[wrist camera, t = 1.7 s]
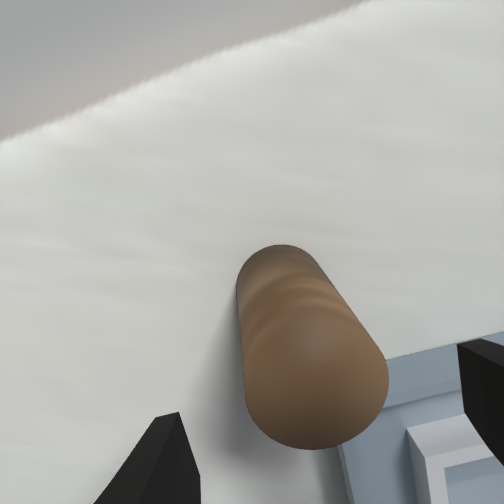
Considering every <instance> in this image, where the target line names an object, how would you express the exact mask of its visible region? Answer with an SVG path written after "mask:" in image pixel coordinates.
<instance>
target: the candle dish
mask: <svg viewBox="0 0 504 504" xmlns="http://www.w3.org/2000/svg"><path fill="white" fill-rule="evenodd" d="M480 338H481V339H485V340H488V341H491V342H494V343H497V344H500V345H503V346H504V332H500V333H496V334H492V335H488V336H484V337H480ZM476 339H479V338H476ZM471 340H475V339H471ZM471 340H467V341H471ZM467 341H463V342H467ZM459 343H462V342H459ZM457 344H458V343H455V344H451V345H447V346H443V347H439V348H434V349H430V350H426V351H422V352H418V353H414V354H410V355H406V356H401V357H397V358H393V359H389V360H386V363H387V367H388V371H389V389H388V394H387V398H386V401H385V403H384V406H383V408H382V409H381V411H380V413H379V414H378V416H377V417H376V419H375V420H374V421H373V422H372V423H371V425H370V426H369V427H367V428H366V429H365V430H364V431H363V432H362V433H360V434H359V435H357V436H356V437H354V438H353V439H351V440H349V441H347V442H345V443H342V444H340V445H337V450H338V454H339V459H340V464H341V468H342V473H343V478H344V483H345V487H346V492H347V497H348V501H349V504H504V466H503V465H502V464H501V463H500V462H499V460H498V459H497V458H496V457H495V456H494V454H493V453H492V452H491V451H490V450H489V448H488V447H487V446H486V444H485V443H484V441H483V440H482V438H481V437H480V436H479V434H478V433H477V431H476V430H475V428H474V427H473V425H472V424H471V422H470V420H469V419H468V417H467V416H466V414H465V413H464V408H463V399H462V390H461V381H460V372H459V362H458V353H457Z"/></svg>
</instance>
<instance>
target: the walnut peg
mask: <svg viewBox="0 0 504 504" xmlns="http://www.w3.org/2000/svg"><path fill="white" fill-rule="evenodd" d="M236 289H237V303H238V315H239V327H240V339H241V352H242V364H243V376H244V388H245V399H246V404H247V408H248V410H249V413H250V415H251V417H252V419H253V421H254V422H255V423H256V425H257V426H258V427H259V428H260V429H261V430H262V431H263V432H264V433H265V434H266V435H267V436H269V437H270V438H271V439H273V440H275V441H277V442H278V443H281V444H283V445H286V446H289V447H293V448H298V449H306V450H316V449H325V448H330V447H334V446H337V445H340V444H342V443H345V442H347V441H349V440H351V439H353V438H354V437H356V436H357V435H359V434H360V433H362V432H363V431H364V430H365V429H366V428H367V427H369V426H370V425H371V423H372V422H373V421H374V420H375V419H376V417H377V416H378V414H379V413H380V411H381V409H382V408H383V406H384V403H385V401H386V398H387V394H388V389H389V371H388V367H387V363H386V360H385V358H384V356H383V354H382V352H381V351H380V349H379V347H378V346H377V345H376V343H375V342H374V341H373V339H372V338H371V336H370V335H369V334H368V332H367V331H366V329H365V328H364V327H363V325H362V324H361V323H360V321H359V320H358V318H357V317H356V316H355V314H354V313H353V312H352V310H351V309H350V307H349V306H348V305H347V303H346V302H345V301H344V299H343V298H342V296H341V295H340V294H339V292H338V291H337V289H336V288H335V287H334V285H333V284H332V283H331V281H330V280H329V278H328V277H327V276H326V274H325V273H324V272H323V270H322V269H321V267H320V266H319V265H318V263H317V262H316V261H315V259H314V258H313V257H312V256H311V255H310V254H308V253H307V252H305V251H304V250H302V249H300V248H297V247H295V246H290V245H273V246H269V247H266V248H263V249H261V250H259V251H258V252H256V253H254V254H253V255H252V256H251V257H250V258H249V259H248V260H247V261H246V262H245V264H244V265H243V266H242V268H241V270H240V272H239V275H238V279H237V285H236Z"/></svg>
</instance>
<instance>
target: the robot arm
mask: <svg viewBox="0 0 504 504" xmlns="http://www.w3.org/2000/svg"><path fill="white" fill-rule="evenodd" d="M457 353H458V362H459V372H460V381H461V390H462V399H463V408H464V413H465V414H466V416H467V417H468V419H469V420H470V422H471V424H472V425H473V427H474V428H475V430H476V431H477V433H478V434H479V436H480V437H481V438H482V440H483V441H484V443H485V444H486V446H487V447H488V448H489V450H490V451H491V452H492V453H493V454H494V456H495V457H496V458H497V459H498V460H499V462H500V463H501V464H502V465H503V466H504V346H503V345H500V344H497V343H494V342H491V341H488V340H485V339H481V338H479V339H475V340H471V341H467V342H462V343H458V344H457ZM94 504H201V489H200V474H199V471H198V468H197V465H196V462H195V459H194V456H193V453H192V450H191V447H190V444H189V441H188V438H187V435H186V432H185V429H184V426H183V423H182V420H181V417H180V414H179V412H176V413H172V414H168V415H164V416H160V417H155V419H154V420H153V422H152V423H151V424H150V426H149V427H148V429H147V430H146V432H145V433H144V435H143V436H142V437H141V439H140V440H139V442H138V443H137V445H136V446H135V448H134V449H133V451H132V452H131V454H130V455H129V456H128V458H127V459H126V461H125V462H124V464H123V465H122V466H121V468H120V469H119V471H118V472H117V473H116V475H115V476H114V478H113V479H112V480H111V482H110V483H109V484H108V486H107V487H106V488H105V490H104V491H103V492H102V494H101V495H100V496H99V497H98V499H97V500H96V501H95V503H94Z"/></svg>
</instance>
